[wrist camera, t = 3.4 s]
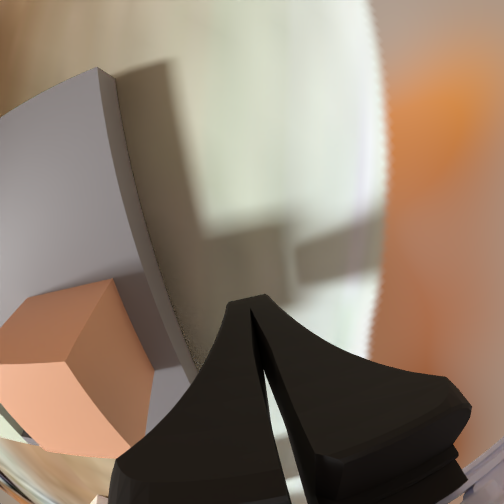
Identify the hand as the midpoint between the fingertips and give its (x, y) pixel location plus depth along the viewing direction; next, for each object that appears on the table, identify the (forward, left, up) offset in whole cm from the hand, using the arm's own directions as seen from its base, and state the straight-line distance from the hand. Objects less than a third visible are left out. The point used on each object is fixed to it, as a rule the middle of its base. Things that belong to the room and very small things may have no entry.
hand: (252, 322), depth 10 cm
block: (0, +7, -1) cm, 7 cm away
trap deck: (0, +16, -3) cm, 17 cm away
